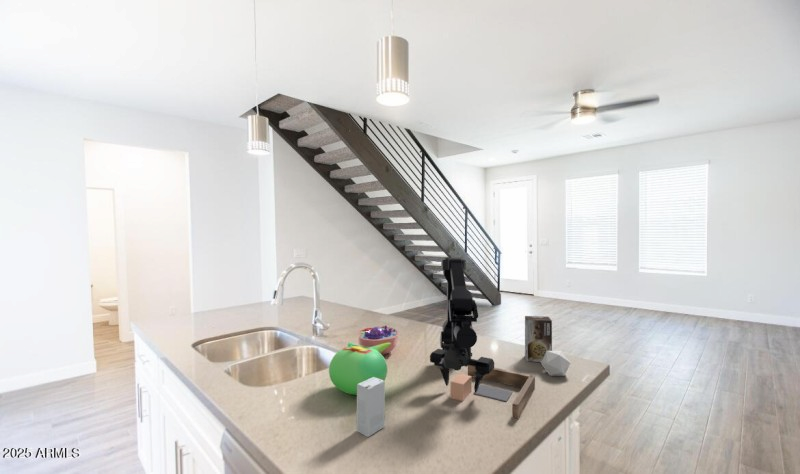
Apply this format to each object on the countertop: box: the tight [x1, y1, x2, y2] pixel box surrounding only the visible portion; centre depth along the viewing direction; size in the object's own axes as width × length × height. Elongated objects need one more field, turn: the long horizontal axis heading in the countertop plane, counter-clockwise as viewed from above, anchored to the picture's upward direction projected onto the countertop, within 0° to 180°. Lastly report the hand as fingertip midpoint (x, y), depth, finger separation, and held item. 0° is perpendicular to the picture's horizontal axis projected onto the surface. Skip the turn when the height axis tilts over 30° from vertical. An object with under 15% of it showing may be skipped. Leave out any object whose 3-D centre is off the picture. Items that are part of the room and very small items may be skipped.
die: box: [540, 350, 571, 377], centre depth 126 cm, size 8×9×10 cm
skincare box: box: [356, 377, 386, 438], centre depth 91 cm, size 6×4×12 cm
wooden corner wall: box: [467, 365, 536, 421], centre depth 111 cm, size 22×22×4 cm
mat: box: [473, 384, 514, 403], centre depth 111 cm, size 10×7×1 cm
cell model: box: [357, 325, 399, 356], centre depth 148 cm, size 17×20×11 cm
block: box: [449, 373, 473, 402], centre depth 110 cm, size 4×7×5 cm, turn 149°
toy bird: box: [328, 341, 391, 396], centre depth 112 cm, size 18×17×15 cm
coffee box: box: [524, 315, 553, 363], centre depth 140 cm, size 9×6×16 cm
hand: (461, 388), depth 110 cm, fingers open, 9 cm apart
